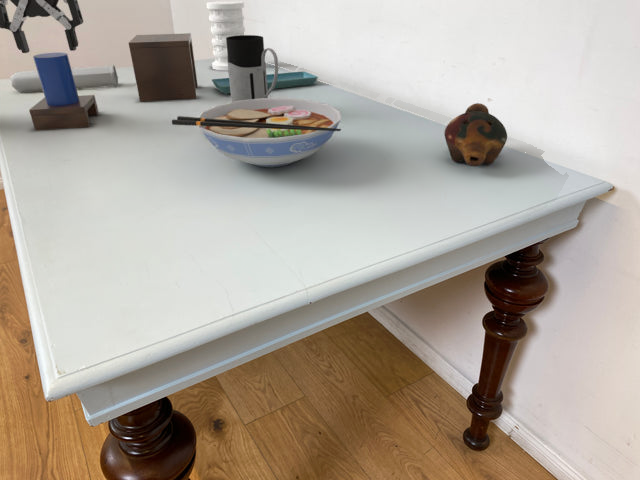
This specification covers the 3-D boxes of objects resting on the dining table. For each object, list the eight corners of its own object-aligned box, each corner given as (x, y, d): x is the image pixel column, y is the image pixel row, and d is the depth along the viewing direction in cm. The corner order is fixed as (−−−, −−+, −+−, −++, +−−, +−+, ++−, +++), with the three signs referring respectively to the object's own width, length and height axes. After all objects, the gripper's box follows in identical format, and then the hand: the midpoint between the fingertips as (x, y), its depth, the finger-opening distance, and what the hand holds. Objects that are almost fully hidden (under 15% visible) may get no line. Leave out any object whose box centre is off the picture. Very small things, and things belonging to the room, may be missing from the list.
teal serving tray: (304, 78, 133) (304, 69, 132) (318, 85, 126) (318, 75, 125) (212, 89, 123) (210, 79, 122) (222, 96, 116) (221, 86, 115)
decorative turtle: (494, 145, 84) (505, 100, 80) (507, 185, 72) (521, 134, 68) (438, 139, 86) (446, 95, 81) (441, 178, 73) (451, 128, 69)
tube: (5, 78, 118) (113, 71, 123) (8, 67, 121) (113, 61, 126) (14, 97, 122) (118, 90, 127) (17, 86, 125) (118, 79, 130)
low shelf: (35, 130, 94) (28, 109, 92) (49, 116, 103) (44, 97, 101) (88, 126, 96) (83, 106, 94) (99, 113, 104) (94, 94, 102)
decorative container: (204, 67, 148) (196, 3, 139) (233, 62, 156) (227, 0, 147) (229, 72, 142) (222, 4, 133) (257, 66, 150) (253, 2, 140)
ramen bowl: (356, 142, 87) (358, 96, 82) (333, 194, 67) (334, 137, 63) (226, 134, 91) (221, 90, 87) (169, 181, 72) (160, 127, 68)
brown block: (139, 101, 113) (128, 42, 106) (146, 89, 124) (136, 35, 117) (196, 98, 115) (188, 40, 108) (197, 86, 126) (190, 33, 119)
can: (43, 106, 94) (28, 58, 90) (51, 99, 99) (38, 53, 95) (75, 104, 95) (62, 57, 91) (82, 97, 100) (70, 52, 96)
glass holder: (254, 104, 110) (248, 33, 102) (295, 116, 101) (293, 40, 94) (222, 111, 105) (214, 37, 97) (263, 125, 96) (257, 45, 88)
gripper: (70, -47, 89) (92, 46, 97) (-14, -46, 86) (16, 50, 95) (59, -48, 82) (84, 52, 90) (-32, -47, 80) (2, 56, 88)
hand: (49, 51), depth 92 cm, fingers open, 8 cm apart
